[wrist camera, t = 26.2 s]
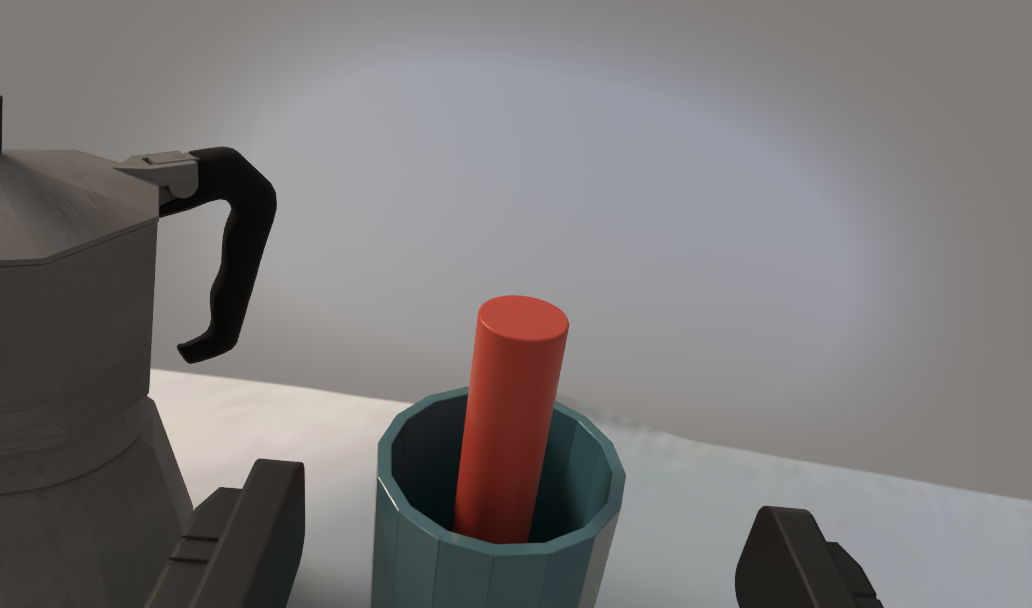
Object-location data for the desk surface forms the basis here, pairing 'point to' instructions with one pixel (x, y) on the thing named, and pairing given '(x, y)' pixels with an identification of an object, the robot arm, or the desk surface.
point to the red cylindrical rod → (508, 417)
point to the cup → (479, 564)
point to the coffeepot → (101, 363)
